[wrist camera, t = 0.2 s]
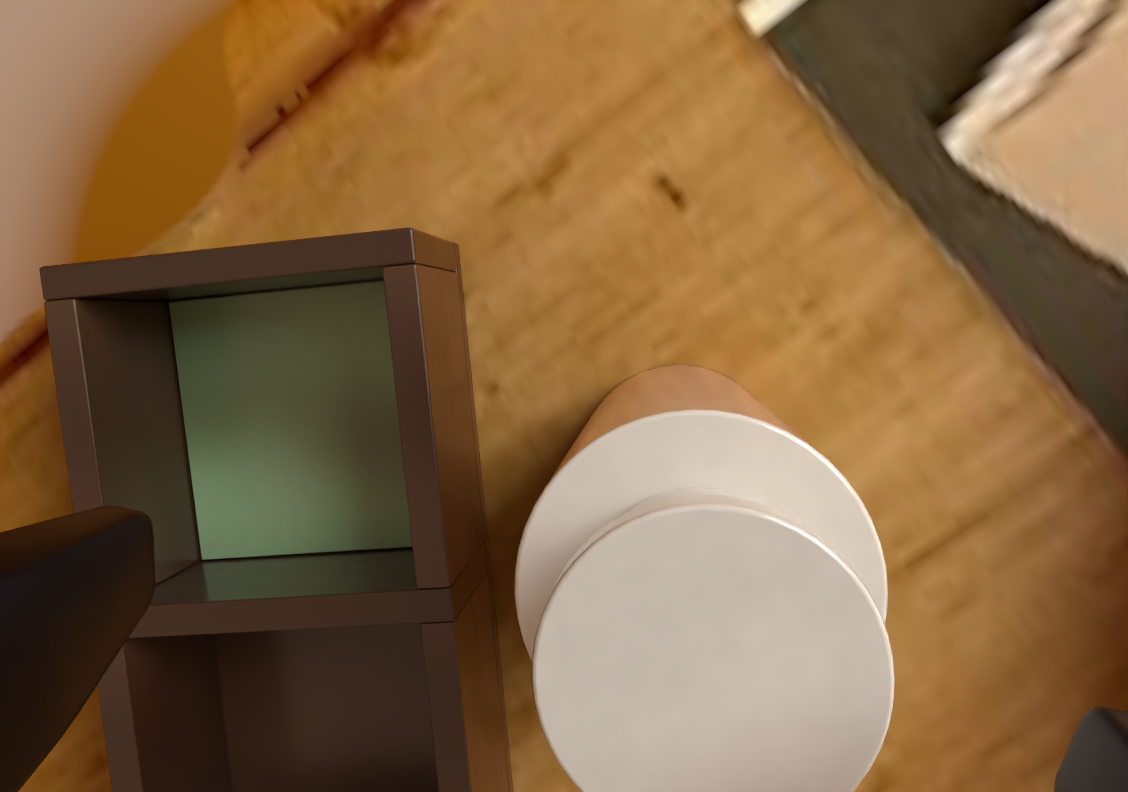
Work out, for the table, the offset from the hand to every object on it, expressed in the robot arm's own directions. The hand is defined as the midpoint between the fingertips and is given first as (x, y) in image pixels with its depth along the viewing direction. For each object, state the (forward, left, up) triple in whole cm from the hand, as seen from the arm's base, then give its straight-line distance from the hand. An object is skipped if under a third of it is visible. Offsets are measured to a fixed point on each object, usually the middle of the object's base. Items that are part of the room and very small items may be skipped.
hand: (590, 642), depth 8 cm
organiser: (-9, +2, -15) cm, 18 cm away
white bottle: (0, -2, -15) cm, 15 cm away
